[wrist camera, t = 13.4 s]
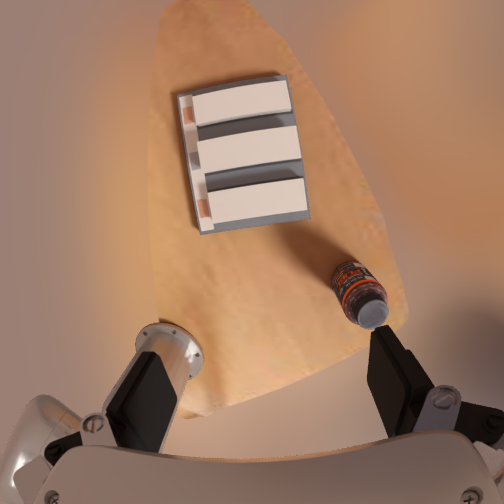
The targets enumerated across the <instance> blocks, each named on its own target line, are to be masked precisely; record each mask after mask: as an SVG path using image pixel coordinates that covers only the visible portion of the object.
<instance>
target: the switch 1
mask: <svg viewBox="0 0 504 504" xmlns="http://www.w3.org/2000/svg"><path fill="white" fill-rule="evenodd" d="M192 99H193V106H194V113H195V120H196V125H197V126H199V127H200V126H205V125H209V124H214V123H219V122H224V121H229V120H234V119H240V118H246V117H252V116H258V115H265V114H273V113H281V112H289V111H291V109H292V108H291V103H290V98H289V93H288V88H287V83H286V80H284V81H275V82H267V83H259V84H253V85H246V86H240V87H235V88H229V89H224V90H219V91H215V92H210V93H205V94H201V95H197V96H193V97H192Z"/></svg>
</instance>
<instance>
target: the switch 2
mask: <svg viewBox="0 0 504 504" xmlns="http://www.w3.org/2000/svg"><path fill="white" fill-rule="evenodd" d="M208 198H209V204H210V209H211V215H212V220H213V224H216V223H222V222H228V221H234V220H241V219H247V218H254V217H261V216H268V215H275V214H282V213H289V212H297V211H304V210H308V209H307V201H306V194H305V187H304V180H303V178H299V179H291V180H283V181H276V182H269V183H262V184H256V185H249V186H243V187H237V188H231V189H225V190H219V191H214V192H209V193H208Z"/></svg>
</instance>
